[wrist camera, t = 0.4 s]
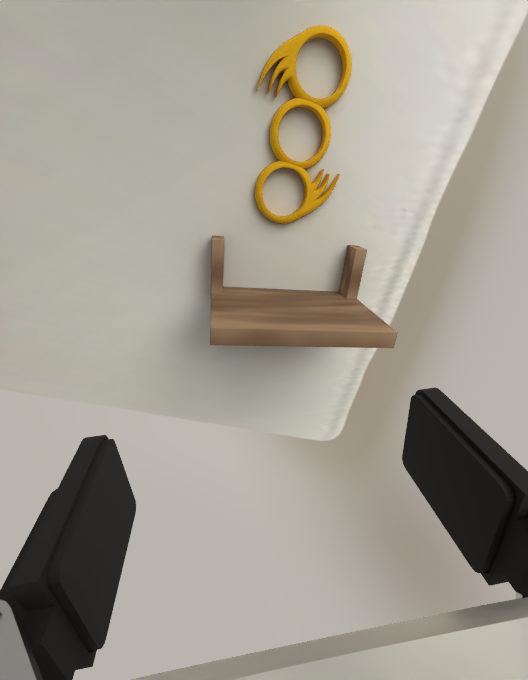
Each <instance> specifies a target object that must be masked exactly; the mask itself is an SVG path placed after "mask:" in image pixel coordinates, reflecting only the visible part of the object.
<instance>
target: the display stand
mask: <svg viewBox="0 0 528 680" xmlns="http://www.w3.org/2000/svg"><path fill="white" fill-rule="evenodd" d="M366 252H367V250H366V249H364V248H362V247H359V246H353V245H348V248H347V253H346V259H345V264H344V269H343V275H342V280H341V285H340V291H339V292H328V291H306V290H284V289H261V288H239V287H223V265H224V237H221V236H212V275H211V323H210V345H246V346H304V347H362V348H394V345H395V341H396V338H397V334H398V333H397V332H396V331H395V330H394V329H392V328H391V327H390V326H389V325H388V324H386V323H385V322H384V321H383V320H382V319H380V318H379V317H378V316H377V315H375V314H374V313H373V312H372V311H371V310H369V309H368V308H367V307H366V306H365V305H363V304H362V303H361V302H360V301H359V300H357V295H358V290H359V286H360V281H361V276H362V271H363V267H364V262H365V257H366Z"/></svg>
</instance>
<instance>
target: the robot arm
mask: <svg viewBox="0 0 528 680" xmlns="http://www.w3.org/2000/svg"><path fill="white" fill-rule="evenodd" d="M402 460H403V464H404V466H405V468H406V470H407V471H408V473H409V474H410V476H411V477H412V479H413V480H414V482H415V483H416V485H417V486H418V488H419V489H420V491H421V492H422V494H423V495H424V497H425V498H426V500H427V501H428V503H429V504H430V506H431V507H432V509H433V510H434V512H435V513H436V515H437V516H438V518H439V519H440V521H441V522H442V524H443V525H444V527H445V528H446V530H447V531H448V533H449V534H450V536H451V538H452V539H453V541H454V542H455V543H456V545H457V546H458V548H459V549H460V551H461V553H462V554H463V556H464V557H465V559H466V560H467V561H468V563H469V564H470V566H471V567H472V569H473V570H474V571H475V572H477V573H481V574H482V576H483V577H484V579H485V580H486V582H487V583H488V585H494V584H499V583H504V582H509V583H510V584H511V586H512V587H513V588H514V590H515V591H516V599H515V600H509V601H504V602H498V603H493V604H487V605H482V606H477V607H472V608H467V609H463V610H458V611H453V612H448V613H443V614H438V615H433V616H428V617H423V618H419V619H414V620H408V621H404V622H399V623H394V624H389V625H384V626H379V627H374V628H370V629H365V630H360V631H355V632H351V633H345V634H341V635H336V636H331V637H326V638H322V639H317V640H312V641H307V642H303V643H298V644H293V645H288V646H284V647H279V648H274V649H269V650H265V651H260V652H255V653H251V654H246V655H241V656H237V657H232V658H227V659H223V660H219V661H213V662H209V663H204V664H200V665H195V666H190V667H186V668H181V669H176V670H172V671H167V672H162V673H158V674H154V675H150V676H146V677H141V678H137V679H133V680H528V471H527V470H526V469H525V468H523V467H522V466H521V465H520V464H519V463H518V462H517V461H516V460H515V459H514V458H513V457H512V456H511V455H510V454H508V453H507V452H506V451H505V450H504V449H503V448H502V447H501V446H500V445H499V444H498V443H497V442H495V441H494V440H493V439H492V438H491V437H490V436H489V435H488V434H487V433H486V432H484V430H482V429H481V428H480V427H479V426H478V425H477V424H476V423H475V422H474V421H473V420H472V419H471V418H470V417H468V416H467V415H466V414H465V413H464V412H463V411H462V410H461V409H460V408H459V407H458V406H457V405H456V404H454V403H453V402H452V401H451V400H450V399H449V398H448V397H447V396H446V395H445V394H444V393H443V392H441V391H440V390H439V389H438V388H429V389H422V390H418V391H417V392H416V394H415V395H414V396H412V397H411V402H410V409H409V416H408V422H407V429H406V435H405V442H404V449H403V456H402ZM135 502H136V501H135V498H134V495H133V492H132V489H131V487H130V484H129V481H128V478H127V475H126V472H125V470H124V467H123V464H122V461H121V458H120V455H119V452H118V450H117V447H116V444H115V441H114V440H113V439H108V437H107V436H106V435H101V436H94V437H88V438H84V439H83V440H82V442H81V444H80V446H79V448H78V450H77V452H76V454H75V456H74V458H73V460H72V462H71V464H70V466H69V468H68V469H67V471H66V473H65V476H64V478H63V480H62V481H61V483H60V486H59V488H58V489H56V490H55V491H53V492H52V493H51V495H50V497H49V498H48V500H47V502H46V504H45V506H44V507H43V510H42V511H41V513H40V515H39V517H38V519H37V521H36V523H35V525H34V527H33V529H32V531H31V533H30V534H29V537H28V538H27V540H26V542H25V544H24V546H23V548H22V550H21V552H20V554H19V556H18V557H17V559H16V561H15V563H14V565H13V567H12V569H11V571H10V573H9V575H8V577H7V579H6V581H5V583H4V584H3V587H2V589H1V590H0V680H72V679H73V675H74V672H75V670H78V669H83V668H87V667H92V666H93V663H94V659H95V654H96V651H97V649H101V648H102V647H103V645H104V643H105V640H106V636H107V632H108V628H109V623H110V619H111V615H112V611H113V606H114V602H115V598H116V593H117V589H118V585H119V580H120V576H121V572H122V568H123V564H124V559H125V555H126V551H127V547H128V542H129V538H130V534H131V529H132V525H133V521H134V517H135V512H136V503H135Z"/></svg>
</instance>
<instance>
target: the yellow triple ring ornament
mask: <svg viewBox="0 0 528 680" xmlns="http://www.w3.org/2000/svg"><path fill="white" fill-rule="evenodd" d="M313 38H324V39H327V40H329V41H330V42H332V43H333V44H334V45H335V46H336V48H337V50H338V51H339V53H340V56H341V59H342V66H343V68H342V77H341V81H340V84H339V86H338V88H337V89H336V91H335V92H334V93H333V94H332V95H331V96H330V97H327V98H324V99H316V98H313V97H311V96H309V95H307V94H306V93H305V92H304V91H303V89H302V88H301V86H300V85H299V82H298V80H297V76H296V59H297V55H298V52H299V50H300V48H301V47H302V45H303V44H305V43H306V42H307V41H308V40H311V39H313ZM278 62H280V63H279V64H278V66H277V67H276V69H275V71H274V73H273V74H272V77H271V80H270V84H269V91H270V89H271V87H272V84H273V82H274V80H275V78H276V77H277V76H278V75H279V74H281V73H283V75H282V77H281V79H280V81H279V84H278V87H277V92H276V96H277V94H278V93H279V91H280V89H281V87H282V85H283V84H284V83H285V82H286V81H287V82H288V85H289V88H290V90H291V92H292V94H293V96H294V97H295V98H294V99H291V100H289V101H288V102H286V103H285V104H283V105H282V106H281V107H280V108H279V109H278V111H277V112H276V114H275V116H274V118H273V120H272V123H271V127H270V144H271V147H272V150H273V152H274V154H275V156H276V158H277V159H278V160H279V161H277V162H274V163H272V164H270V165H269V166H267V167H266V168H265V169H264V170H263V171H262V173H261V174H260V176H259V177H258V180H257V182H256V187H255V199H256V203H257V206H258V208H259V210H260V211H261V212H262V214H263V215H264V216H265V217H266V218H268V219H269V220H271V221H273V222H276V223H281V224H285V223H290V222H293V221H295V220H297V219H299V218H301V217H303V216H305V215H307V214H309V213H310V212H312V211H314V210H315V209H317V208H318V207H319V206H321V205H322V204H323V203H324V202H325V201H326V200H327V198H328V197H329V195H330V194H331V192H332V190H333V189H334V187H335V185H336V182H337V180H338V177H339V175H340V174H338V175H337V176H336V178H335V179H334V181H333V182H332V184H331V185H330V186H329V188H328V189H327V190H326V191H325V192H324V193H323V191H324V190H325V188H326V186H327V183H328V180H329V174H327V175H326V177H325V179H324V181H323V182H322V184H321V185H320V186H319V187H318V185H319V183H320V181H321V178H322V174H323V171H324V170H321V171H320V173H319V174H318V176H317V178H316V179H315V181H314V182H313V183H311V179H310V177H309V175H308V173H307V172H306V170H305V169H306V168H309V167H311V166H313V165H315V164H316V163H317V162H318V161H320V159H321V158H322V157H323V156H324V154H325V153H326V151H327V148H328V146H329V142H330V136H331V128H330V122H329V119H328V116H327V114H326V112H325V111H324V109H323V108H326V107H328V106H330V105H332V104H333V103H334V102H336V101H337V100H338V99H339V98H340V97H341V95H342V94H343V93H344V91H345V89H346V87H347V85H348V82H349V79H350V75H351V55H350V51H349V48H348V45H347V43H346V41H345V40H344V38H343V37H342V36H341V35H340V34H339V33H338V32H337V31H336V30H334V29H333V28H330V27H327V26H314V27H311V28H309V29H307V30H306V31H304V32H302V33H300V34H299V35H297V36H295V37H293V38H291V39H290V40H288V41H287V42H285V43H284V44H283V45H281V46H280V47H279V48H278V49H277V50H276V51H275V52H274V53H273V54H272V56H271V57H270V58H269V60H268V62H267V64H266V66H265V68H264V70H263V72H262V75H261V77H260V80H259V83H258V87H259V86H260V84H261V82H262V80H263V79H264V77H265V76H266V74H267V73H268V71H269V70H270V69H271V68H272V67H273V66H274V65H275V64H276V63H278ZM258 87H257V89H258ZM276 96H275V97H276ZM295 107H305V108H308V109H310V110H311V111H313V112H314V113H315V114H316V115H317V117H318V118H319V120H320V122H321V126H322V131H323V137H322V142H321V145H320V148H319V150H318V151H317V153H316V154H315V155H314V156H313V157H312V158H311V159H309V160H307V161H305V162H297V161H293V160H291V159H290V158H288V157H287V156H286V155H285V154H284V153H283V151H282V149H281V147H280V145H279V141H278V127H279V124H280V121H281V119H282V117H283V116H284V114H285V113H286V112H287V111H289V110H290V109H292V108H295ZM281 167H284V168H290V169H292V170H294V171H296V172H297V173H298V174H299V175H300V177H301V178H302V180H303V183H304V186H305V196H304V200H303V202H302V204H301V206H300V208H299V209H298V210H297V211H296V212H294V213H293V214H291V215H289V216H282V217H280V216H276V215H274V214H272V213H271V212H270V211H269V210H268V209H267V208H266V206H265V204H264V202H263V198H262V188H263V184H264V182H265V180H266V178H267V177H268V175H269V174H270V173H271V172H272V171H274V170H276V169H278V168H281ZM317 187H318V188H317ZM316 188H317V189H316ZM322 193H323V194H322ZM321 194H322V195H321ZM320 195H321V196H320ZM319 196H320V197H319Z"/></svg>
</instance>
